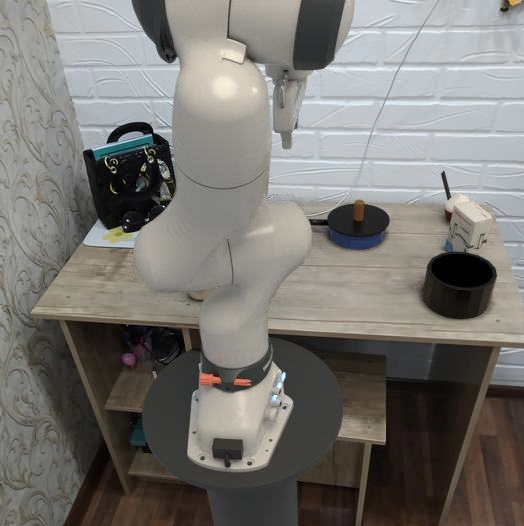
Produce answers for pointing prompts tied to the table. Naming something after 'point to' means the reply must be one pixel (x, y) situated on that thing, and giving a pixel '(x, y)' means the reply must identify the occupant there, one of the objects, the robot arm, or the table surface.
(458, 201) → the cocoa
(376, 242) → the pan
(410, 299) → the table surface
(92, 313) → the table surface
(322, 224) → the pan handle
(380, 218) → the lid
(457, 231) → the ink box
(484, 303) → the pot
